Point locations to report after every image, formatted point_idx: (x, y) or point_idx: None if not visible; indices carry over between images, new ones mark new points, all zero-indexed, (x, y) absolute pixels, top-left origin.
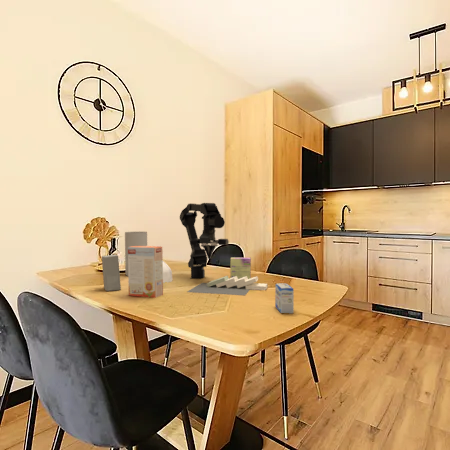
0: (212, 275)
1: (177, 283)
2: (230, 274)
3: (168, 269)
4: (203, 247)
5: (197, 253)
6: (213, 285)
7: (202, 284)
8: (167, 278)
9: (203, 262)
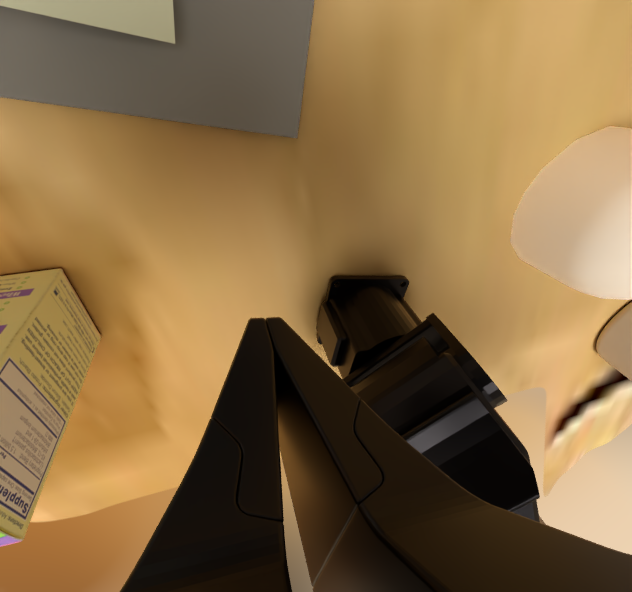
0: None
1: (493, 124)
2: (38, 306)
3: (629, 217)
4: (550, 527)
5: (471, 453)
6: None
7: (272, 32)
8: (577, 168)
9: (356, 388)
